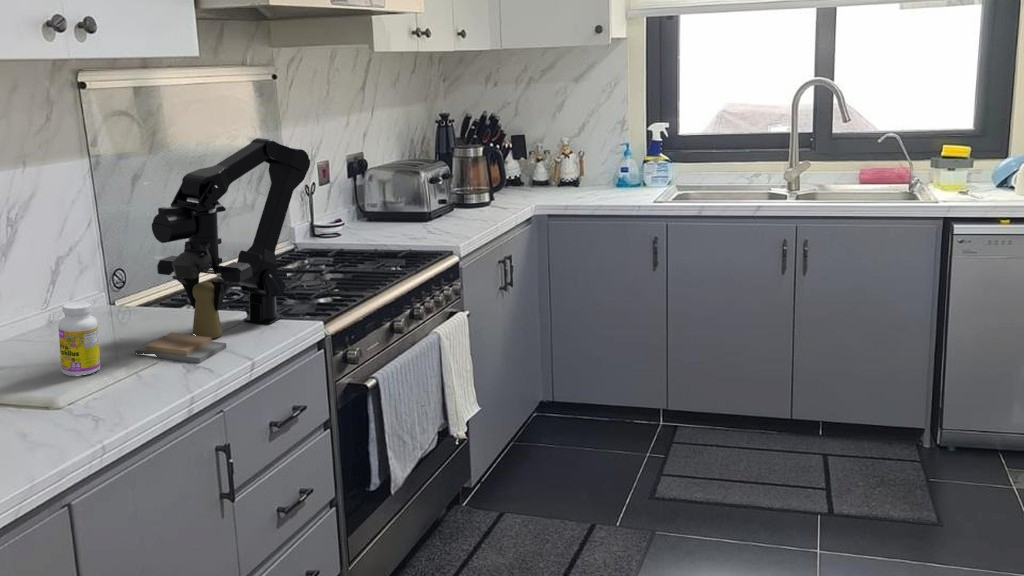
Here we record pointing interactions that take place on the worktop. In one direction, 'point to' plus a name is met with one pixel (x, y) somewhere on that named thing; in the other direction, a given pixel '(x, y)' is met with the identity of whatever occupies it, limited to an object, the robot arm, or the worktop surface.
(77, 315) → the supplement bottle
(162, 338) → the stand
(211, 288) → the cork
